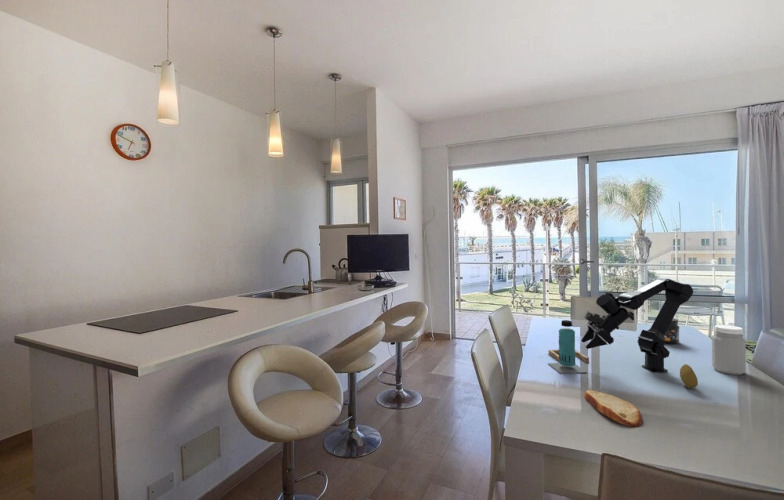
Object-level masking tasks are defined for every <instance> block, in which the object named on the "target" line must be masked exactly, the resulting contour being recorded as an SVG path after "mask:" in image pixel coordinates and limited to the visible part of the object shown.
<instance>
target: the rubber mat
mask: <svg viewBox="0 0 784 500" xmlns="http://www.w3.org/2000/svg"><path fill="white" fill-rule="evenodd" d="M547 365H548V366H549V367H551V368H552V369H553V370H554V371H556V372H557V373H558V374H560V375H561V374H562V375H563V374H567V375H568V374H570V375H571V374H587V373H588V372H587V370H585V369H584V368H582V367H580V366H579V365H577V364H575V366H564V365H561V364H560V363H559V362H551V363H550V362H549V363H547Z"/></svg>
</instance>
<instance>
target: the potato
mask: <svg viewBox="0 0 784 500" xmlns="http://www.w3.org/2000/svg"><path fill="white" fill-rule="evenodd" d="M679 377H680V379H681V381H682V383H683V384H684V385H685V386H686V387H687V388H688V389H694V388H696V387H697V386H698V384H699V383H698V382H699V381H698V376H697V375H696V373H695V371H694V370H693V368H692V367H691V366H690V365H689V364H683V365H682V366H681V367H680V370H679Z"/></svg>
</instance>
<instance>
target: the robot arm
mask: <svg viewBox="0 0 784 500" xmlns="http://www.w3.org/2000/svg"><path fill="white" fill-rule="evenodd" d="M662 292H664V296H665V301H664V303H663V305H662V306H661V308H660V310H659V312H658V314H657V316H655V318H656V319H655V318H654V321H653V322H652V325H651V327H650V328H649V329H647V330H646V329H642V330H641V332H640V334H639V335H638V336H637V338H638V339H637V344H638V347H639V350H640V352H641V353H644V364H642V365H641V367H642V368H644V369H646V370H648V371H650V372H652V373H653V372H654V373H657V372H661V373H662V372H669V371H668V369H666V368H665V359H666V358H669V357H670V354H671V352H670V351H669V350H668V348H666V346H665V345H666V344H665V337H664V334H665V332H666V330H667V328H668V327H669V325H670V323H671V321H672V319H673V318H675V315H676V313H677V312H678V310H679V308H680V306H682V305H683V304H685V303H687V302H688V301H689V299H691V297H692V296H693V295H694V294H693V293H694V289H693V288H692V286H691V285H690V284H689V283H682V282H678V281H675V280H672V279H670V278H665V277H659V278H658V277H657V278H656V279H655V280H653V281H652V282H649V283H648V284H646V285H644V286H643V287H640V288H639V289H637V290H633V291H628V292H623V293H620V294H619V295H618V296H616V297H615V296H614V294H612V293H611V292H605V294H602V295H600V296H599V297H597V299H596V301H595V303H596V305H597V306H598V307H599V308H601V309H602V311H604V312H605V313H606V315H605V314H603V315H601V316H600V314H597V313H596V312H595V313H593V312H591V311H587V312H586V313H585V316H584V317H583V318H584V319H585V320H586V321H587V324H586V327H587V330H586V332H585V334H584V335H583V337H582V338H581V340H580V341H581V342H582V343H586V342H588V341H589V342H588V343H587V345H586V346H585V349H586V350H590V349H594V348H598V347H603V346H608V345H611V344H613V343H614V339H615V338H614V337H613V336H612V332H614V331H615V330H619V329H620V325H622V324H623V323H624V322H626V320H628V319H630V320H631V321H634V320H635V317H634V316H635V313H633V311H636V310H639V309H640V308H641V307H642V306H643V305H644V304H645V302H646V301H647V300H649V299H651V298H652V297H654V296H656V295H657V294H660V293H662ZM629 310H633V311H629Z"/></svg>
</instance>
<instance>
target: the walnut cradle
mask: <svg viewBox="0 0 784 500" xmlns="http://www.w3.org/2000/svg"><path fill="white" fill-rule="evenodd" d="M547 350H548V355H549V356H551V358H554V359H555V360H556V361H557V362H559V349H547ZM575 357H577V358H579V359H580V360H582V361H583V362H584V363H590V358H589V357H588V356H586V355H584V353H583V354H582V353H581V352H580V351H578V350H576V349H575Z"/></svg>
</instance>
